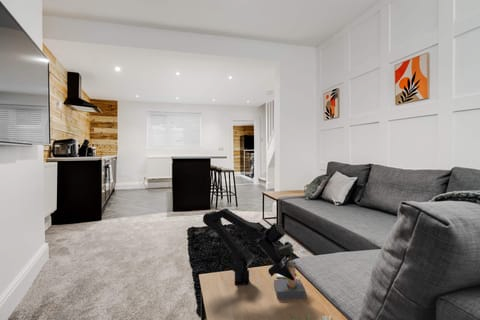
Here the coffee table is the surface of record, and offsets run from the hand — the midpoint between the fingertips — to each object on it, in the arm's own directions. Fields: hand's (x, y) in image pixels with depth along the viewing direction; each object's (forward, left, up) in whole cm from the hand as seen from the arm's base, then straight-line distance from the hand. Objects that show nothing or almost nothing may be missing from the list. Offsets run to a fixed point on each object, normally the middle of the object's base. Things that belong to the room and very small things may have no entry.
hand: (294, 278), depth 104 cm
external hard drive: (-1, +20, -8) cm, 21 cm away
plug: (-1, +1, -7) cm, 7 cm away
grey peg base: (-2, +2, -7) cm, 7 cm away
